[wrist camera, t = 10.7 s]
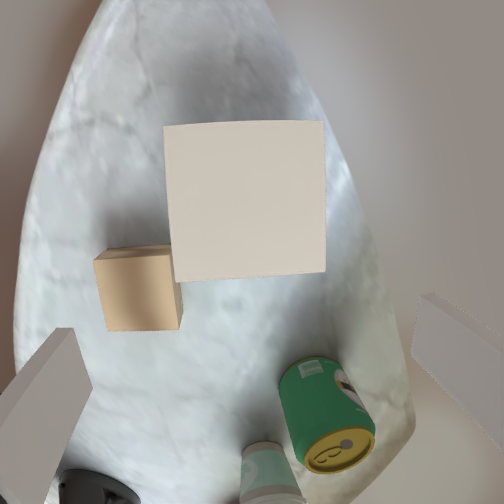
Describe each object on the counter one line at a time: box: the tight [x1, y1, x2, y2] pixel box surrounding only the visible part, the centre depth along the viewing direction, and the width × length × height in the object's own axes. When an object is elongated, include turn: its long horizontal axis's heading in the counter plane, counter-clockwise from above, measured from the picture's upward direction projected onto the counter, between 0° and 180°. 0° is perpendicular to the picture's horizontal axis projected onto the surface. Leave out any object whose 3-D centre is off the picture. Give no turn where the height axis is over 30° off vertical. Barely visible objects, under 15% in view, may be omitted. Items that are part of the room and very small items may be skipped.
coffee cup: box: [239, 441, 308, 504], centre depth 33 cm, size 8×9×12 cm
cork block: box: [93, 244, 183, 331], centre depth 29 cm, size 7×7×4 cm
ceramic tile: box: [163, 120, 326, 283], centre depth 23 cm, size 11×11×2 cm
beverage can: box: [279, 356, 375, 474], centre depth 30 cm, size 8×8×12 cm
